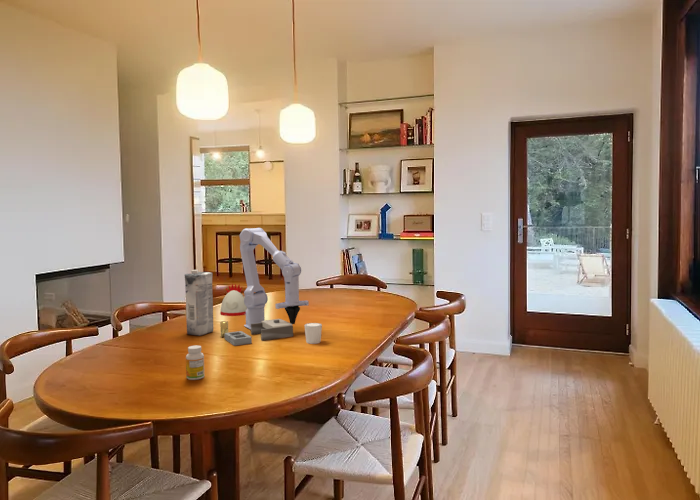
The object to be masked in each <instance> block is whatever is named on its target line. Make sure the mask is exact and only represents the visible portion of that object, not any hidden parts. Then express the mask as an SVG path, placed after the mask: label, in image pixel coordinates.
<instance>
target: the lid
mask: <svg viewBox="0 0 700 500" xmlns="http://www.w3.org/2000/svg"><path fill="white" fill-rule="evenodd" d="M261 322H262V324H263V327H264V328H266V329H268V328H278V327H285V326H293V324H291V323H290V321H286V320H284V319H282V318H275V319H265V321H261Z"/></svg>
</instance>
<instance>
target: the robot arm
mask: <svg viewBox="0 0 700 500" xmlns="http://www.w3.org/2000/svg"><path fill="white" fill-rule="evenodd" d="M238 237H239V241H240V243H239V251H240V256H241V261H242V264H243V265H242V266H243V271H244V276H245V281H246V288H245V290H244V291H243V294H244V295H243V296H244V303H245V305H246V307H247V310H246V314H245V324H244V325H243V326H244V327H245V328H247V329H249V330H251V324H254V323H262V322H261V321H265V320H266V319H265V307H266V304H267V303H268V300H269V299H268V297H269V296H268V294H267V293H266V290H265V288H264V287H263V286H262V285H261V284H260V279H259V273H258V268H257V263H256V257H255V254H254V250H255V248H256V247H257V246H258V245H260V246H262V248H264V249H265V251H267V252H268V253H269V254H270V255H271V256H272V261H273V262H274V263H275V265H276V266H278V268H280V270H281V273H282V276H283V279H284V288H285V289H284V291H285V292H284V293H285V294H284V295H285V299H284V300H285V301H284V302H278V303H275V304H274V305H275V309H277V310H280V309H284V310H285V312H286V314H287V316H288V320H289V323H291V324H292V325H296V320H297V316H298V314H299V312H300V310H301V307H303V306H309V300H300V295H299V294H300V287H299V286H300V281H299V278H300V275H301V274H302V268H301V267H302V266H300V264H299V263H297V262H294V261H293V259H291V258H290V257H289V256H288V255H287V252H286V251H284V250H279V249H278V248H277V246H275V244H274V243H273V242H272V240H271V239H270V238H269V236H268V235H267V232H266V231H265V230H264V229H263V228H261V227H256V228H255V227H254V228H253V227H252V228H251V227H250V228H249V227H248V228H247V227H246V228H243V229H242V231H241V232H240V234H239V236H238Z"/></svg>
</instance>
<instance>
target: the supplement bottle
mask: <svg viewBox="0 0 700 500" xmlns="http://www.w3.org/2000/svg"><path fill="white" fill-rule="evenodd" d="M187 352H188V353H187V354H186V355H185V368H186V369H185V371H186V373H185V374H186V379H188V380H190V381H196V380H201V379H204V378H205V354H204V353H203V352H202V345H199V344H198V345H190V346H188V347H187Z"/></svg>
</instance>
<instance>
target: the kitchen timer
mask: <svg viewBox="0 0 700 500" xmlns="http://www.w3.org/2000/svg"><path fill="white" fill-rule="evenodd" d="M228 289H229V290H228ZM242 289H243V286H241V287H240V284H238V285H237V284H236V283H234V284H233V283H231V286H230V285H229V286H228V288H226V289H225V290H226V292H227V293H226V295H225V296H224V298H223V299H222V302H221V306H220V310H219V311H220V315H221V316H224V317H239V316H246V310H247V307H246V305H245V303H244V295H243V293H242Z"/></svg>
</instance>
